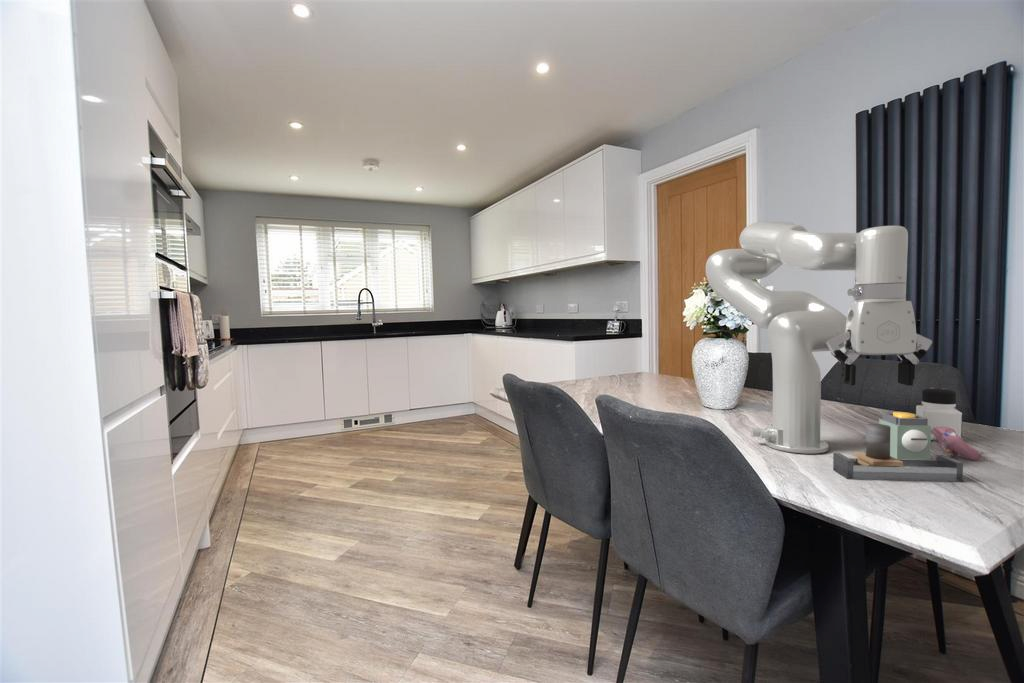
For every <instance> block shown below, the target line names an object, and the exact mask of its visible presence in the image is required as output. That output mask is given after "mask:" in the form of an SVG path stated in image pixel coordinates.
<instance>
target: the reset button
mask: <svg viewBox="0 0 1024 683" xmlns="http://www.w3.org/2000/svg"><path fill="white" fill-rule="evenodd" d="M892 413H893V416H895V417H898V418H916V413H913V412H907V411H906V412H905V411H894V412H892Z"/></svg>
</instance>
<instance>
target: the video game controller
mask: <svg viewBox="0 0 1024 683" xmlns="http://www.w3.org/2000/svg"><path fill="white" fill-rule="evenodd" d="M931 434H932V436H931V439H932V440H931V441H936V442H937V443H938V444H939V445H940V447H941V448H942V450H944V452H946V453H948V454H949V455H951V457H956V456H960V457H962V458H964V459H966V460H969V461H972V460H973V462H978V461H980V460H981V459H982V456H981V455H982V454H981V453H980V452H979V451H978V450H977V449H975V447H972V446H971V445H970V444H968V443H967V442H966V441H965V440H963V438H962V439H961V438H960V437H959V436H958V435H957V434H956V432H955V431H954V430H953V429H951V428H948V427H943V426H941V427H935V428H933V429H931ZM934 439H935V440H934Z"/></svg>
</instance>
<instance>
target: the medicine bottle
mask: <svg viewBox="0 0 1024 683" xmlns="http://www.w3.org/2000/svg"><path fill="white" fill-rule="evenodd" d="M956 407H957V392H956V391H955V390H952V389H950V388H943V387H942V388H941V387H927V388H923V389H922V390H921V404H920V405H919V404H918V405H916V407H915V414H916V415H918V416H921V417H925V418H927V419H928V425H929V426H931V429H933V428H935V427H941V426H943V427H948V428H951V429H953V430H954V431H955V432H956V434H957V435H958V436H959V437H960V438H961V439H962V440H963V413H962V412H961V411H959V410H958V409H957V408H956ZM931 436H932V434H931ZM931 441H936V440H935V439H934V440H932V439H931Z"/></svg>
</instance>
